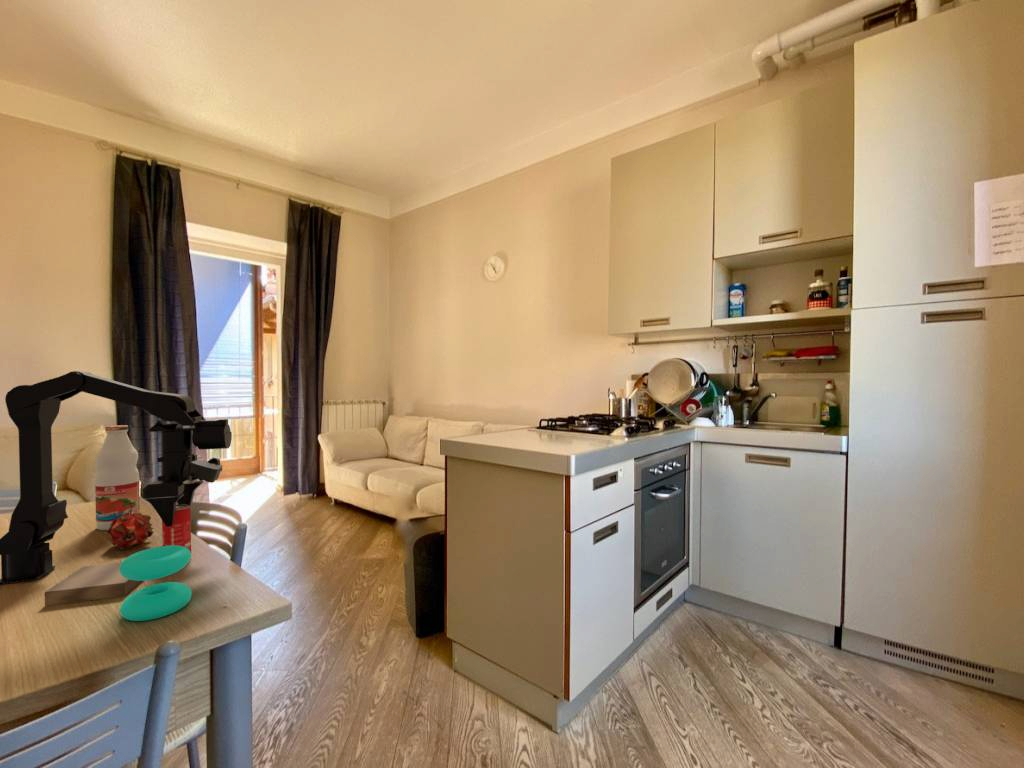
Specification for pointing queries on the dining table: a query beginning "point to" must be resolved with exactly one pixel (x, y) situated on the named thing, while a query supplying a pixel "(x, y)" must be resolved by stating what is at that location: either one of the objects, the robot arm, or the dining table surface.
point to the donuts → (157, 596)
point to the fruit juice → (116, 478)
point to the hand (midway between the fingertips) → (177, 520)
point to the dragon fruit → (130, 530)
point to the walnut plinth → (90, 585)
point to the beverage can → (178, 528)
